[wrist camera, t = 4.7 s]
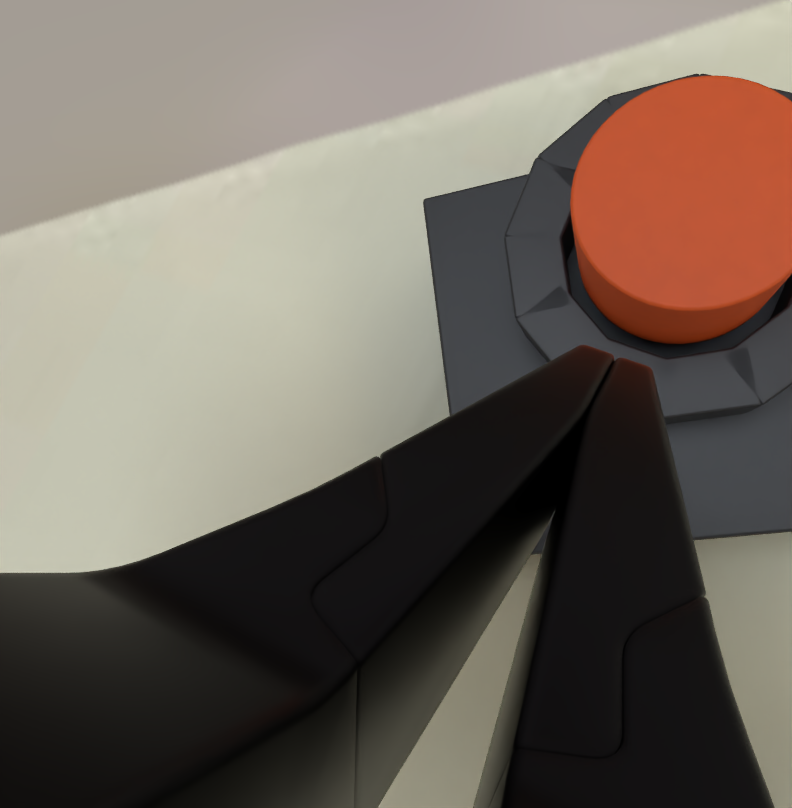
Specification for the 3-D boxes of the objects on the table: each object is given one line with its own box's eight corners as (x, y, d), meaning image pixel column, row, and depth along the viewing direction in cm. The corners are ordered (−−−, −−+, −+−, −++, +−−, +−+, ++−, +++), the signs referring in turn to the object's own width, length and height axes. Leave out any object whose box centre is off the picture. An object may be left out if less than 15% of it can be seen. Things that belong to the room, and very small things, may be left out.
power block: (943, 503, 17) (1092, 515, 12) (492, 545, 20) (450, 570, 15) (862, 138, 18) (964, 2, 13) (451, 230, 21) (399, 149, 16)
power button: (805, 325, 14) (858, 284, 11) (593, 360, 15) (588, 330, 12) (767, 132, 14) (807, 44, 11) (565, 180, 15) (554, 109, 12)
